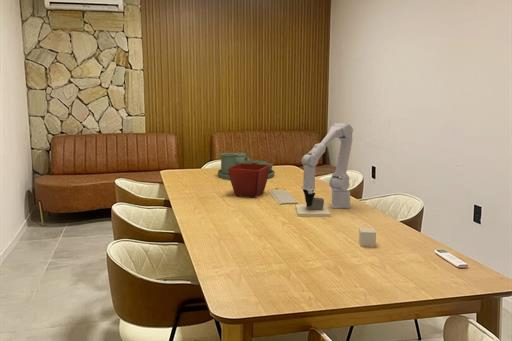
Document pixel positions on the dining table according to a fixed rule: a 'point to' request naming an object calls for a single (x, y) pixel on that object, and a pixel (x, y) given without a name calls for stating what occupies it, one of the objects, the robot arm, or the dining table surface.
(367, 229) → the light gray cube
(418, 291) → the dining table surface
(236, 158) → the tea set
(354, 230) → the dining table surface
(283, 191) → the baseboard molding
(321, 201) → the block
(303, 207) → the board
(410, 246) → the dining table surface
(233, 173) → the plant pot
